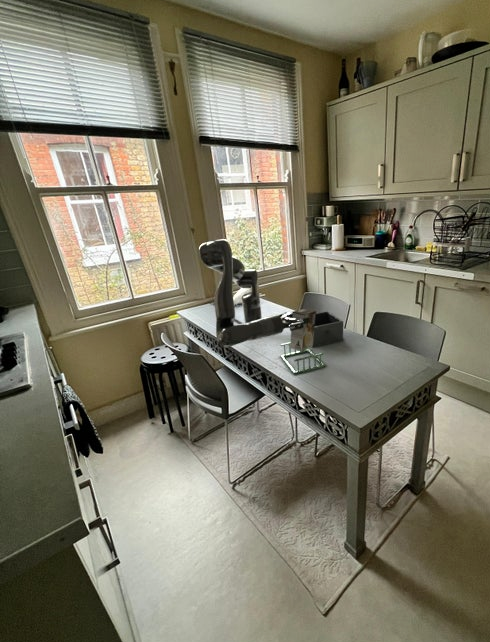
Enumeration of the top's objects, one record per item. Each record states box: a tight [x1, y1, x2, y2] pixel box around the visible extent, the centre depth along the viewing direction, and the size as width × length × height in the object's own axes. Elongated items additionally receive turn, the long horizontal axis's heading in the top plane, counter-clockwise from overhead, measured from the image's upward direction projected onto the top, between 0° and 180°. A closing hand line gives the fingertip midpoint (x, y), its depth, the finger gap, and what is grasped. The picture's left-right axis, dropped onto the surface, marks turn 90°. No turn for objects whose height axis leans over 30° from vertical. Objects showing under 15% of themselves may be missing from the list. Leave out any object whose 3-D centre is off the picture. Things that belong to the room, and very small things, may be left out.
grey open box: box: [311, 310, 344, 348], centre depth 157 cm, size 17×17×10 cm
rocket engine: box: [233, 288, 252, 304], centre depth 213 cm, size 12×12×18 cm
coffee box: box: [289, 307, 317, 352], centre depth 132 cm, size 9×6×16 cm
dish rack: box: [280, 342, 326, 375], centre depth 136 cm, size 17×14×6 cm
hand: (303, 317), depth 130 cm, fingers closed on coffee box, 8 cm apart
